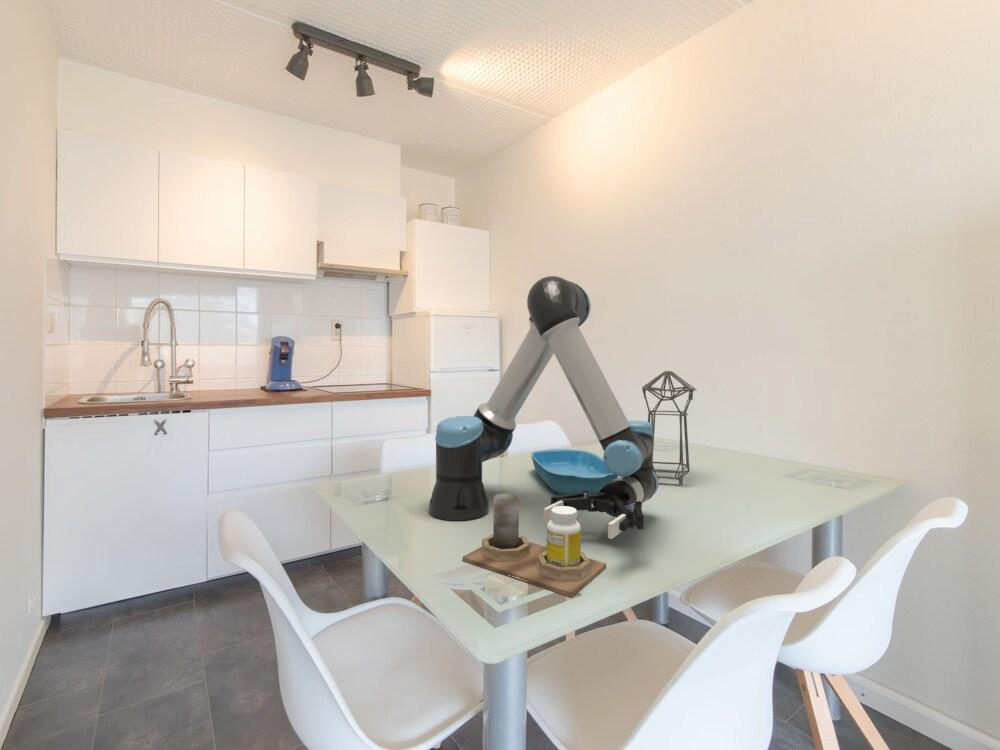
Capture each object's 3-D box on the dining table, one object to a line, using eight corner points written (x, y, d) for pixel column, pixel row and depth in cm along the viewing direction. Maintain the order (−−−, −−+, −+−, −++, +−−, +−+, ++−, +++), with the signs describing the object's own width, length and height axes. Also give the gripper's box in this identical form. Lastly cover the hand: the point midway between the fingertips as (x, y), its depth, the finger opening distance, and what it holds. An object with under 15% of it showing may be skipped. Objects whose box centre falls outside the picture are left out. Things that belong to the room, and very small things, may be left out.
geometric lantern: (640, 485, 149) (641, 371, 148) (641, 474, 164) (642, 370, 163) (696, 489, 144) (697, 371, 144) (691, 477, 159) (692, 370, 159)
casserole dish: (631, 498, 136) (631, 473, 136) (553, 502, 132) (554, 476, 132) (586, 467, 173) (586, 447, 172) (524, 469, 169) (524, 449, 168)
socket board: (462, 560, 95) (462, 500, 94) (504, 538, 106) (504, 484, 105) (571, 597, 81) (572, 527, 80) (606, 567, 92) (607, 505, 92)
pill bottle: (576, 561, 93) (577, 504, 92) (583, 576, 87) (584, 515, 86) (544, 561, 93) (545, 504, 92) (548, 576, 86) (549, 515, 86)
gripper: (677, 524, 102) (640, 559, 85) (571, 502, 117) (521, 527, 100) (678, 489, 102) (641, 517, 85) (571, 471, 117) (521, 491, 100)
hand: (576, 523), depth 92 cm, fingers open, 13 cm apart
